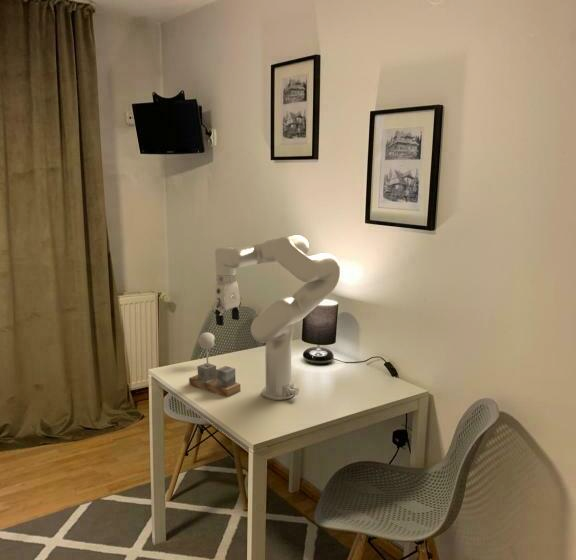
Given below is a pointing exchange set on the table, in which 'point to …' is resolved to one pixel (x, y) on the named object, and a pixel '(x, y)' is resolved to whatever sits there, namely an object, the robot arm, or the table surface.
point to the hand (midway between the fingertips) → (227, 322)
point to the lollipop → (206, 341)
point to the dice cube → (206, 372)
